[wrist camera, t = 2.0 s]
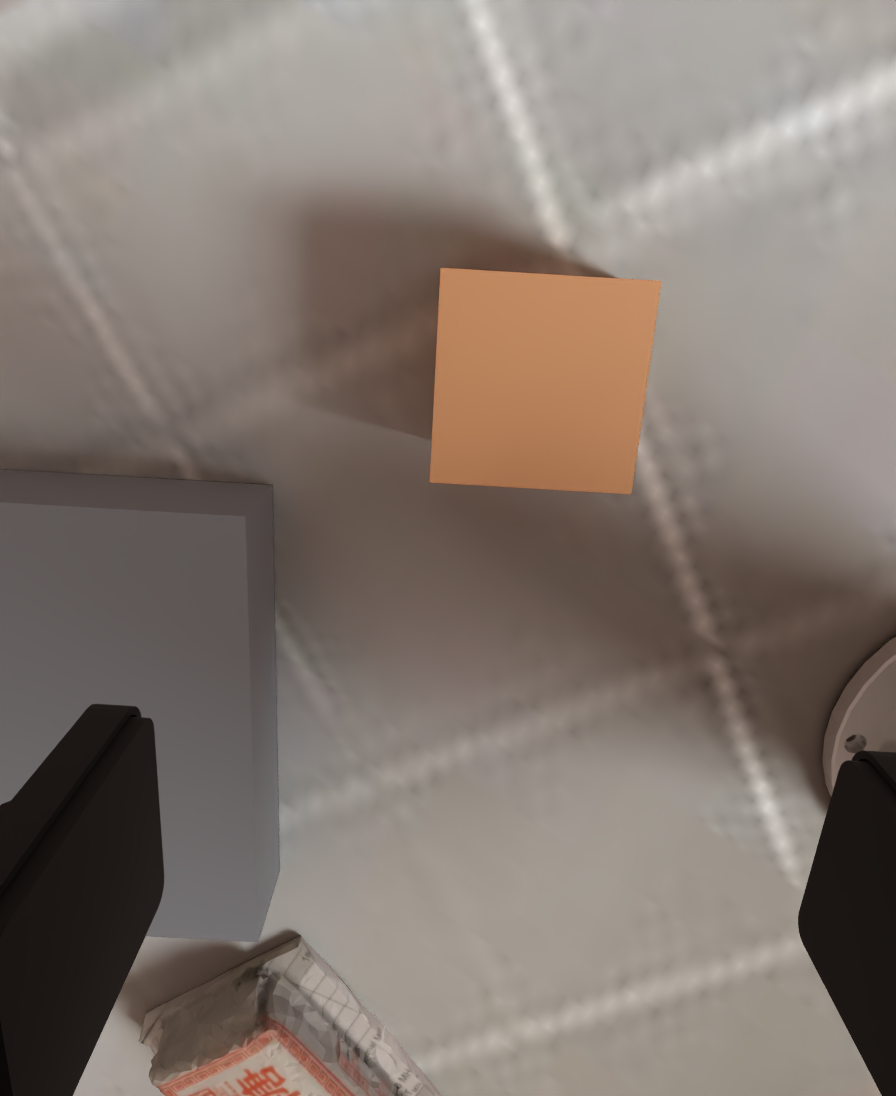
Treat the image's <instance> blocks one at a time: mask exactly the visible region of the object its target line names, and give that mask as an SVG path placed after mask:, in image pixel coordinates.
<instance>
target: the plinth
mask: <svg viewBox="0 0 896 1096" xmlns="http://www.w3.org/2000/svg"><path fill="white" fill-rule="evenodd" d="M92 704H109V705H125V706H136V707H137V708H139V710H140V713H141V717H142V718H150V719H152V721H153V724H154V732H155V746H156V761H157V775H158V790H159V805H160V819H161V834H162V849H163V863H164V889H163V894H162V898H161V902H160V905H159V907H158V910H157V912H156V914H155V916H154V918H153V921H152V923H151V925H150V927H149V929H148V932H147V934H146V936H151V937H170V938H189V939H208V940H226V941H245V942H259V939H260V935H261V932H262V929H263V925H264V922H265V919H266V915H267V912H268V909H269V905H270V902H271V898H272V895H273V892H274V888H275V885H276V882H277V878H278V875H279V871H280V857H279V803H278V750H277V696H276V642H275V588H274V534H273V485H265V484H248V483H231V482H214V481H196V480H179V479H162V478H145V477H128V476H110V475H93V474H76V473H59V472H42V471H25V470H7V469H0V805H1V804H3V803H5V802H8V801H11V800H12V799H13V798H14V796H15V795H16V794H17V793H18V791H19V790H20V789H21V788H22V787H23V785H24V784H25V783H26V782H27V781H28V779H29V778H30V777H31V776H32V775H33V773H34V772H35V771H36V770H37V768H38V767H39V766H40V765H41V764H42V762H43V761H44V760H45V759H46V758H47V756H48V755H49V754H50V753H51V752H52V750H53V749H54V748H55V747H56V745H57V744H58V743H59V742H60V741H61V739H62V738H63V737H64V736H65V735H66V733H67V732H68V731H69V730H70V728H71V727H72V726H73V725H74V724H75V722H76V721H77V720H78V719H79V718H80V716H81V715H82V714H83V713H84V712H85V710H86V709H87V708H88V707H89V706H90V705H92Z"/></svg>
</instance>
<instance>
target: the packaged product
mask: <svg viewBox="0 0 896 1096" xmlns="http://www.w3.org/2000/svg"><path fill="white" fill-rule="evenodd" d="M139 1042H140V1043H143V1044H146V1045H148V1046H150V1047H151V1049H152V1051H153V1052H154V1054H155V1056H154V1057H153V1059H152V1060H151V1063H152V1067H151V1069H150V1072H149V1078H150V1080H151V1083H152V1085H154V1086H156V1087H157V1088H159V1090H160V1091H161V1092H162V1093H163V1094H164V1095H165V1096H442V1094H441V1093H440V1092H439V1091H438V1090H437V1088H436V1087H435V1086H434V1085H433V1084H432V1082H431V1081H430V1080H429V1079H428V1078H427V1076H426V1075H425V1074H424V1073H423V1072H422V1070H421V1069H420V1068H419V1067H418V1066H417V1065H416V1063H415V1062H414V1061H413V1060H412V1059H411V1058H410V1057H409V1056H408V1054H407V1053H406V1052H405V1050H404V1049H403V1048H402V1046H401V1045H400V1044H399V1042H398V1041H397V1040H396V1038H395V1037H394V1036H393V1035H392V1034H391V1033H390V1032H389V1031H388V1030H387V1029H386V1028H385V1026H384V1025H383V1024H382V1023H381V1022H380V1021H379V1020H378V1019H377V1018H376V1017H375V1016H374V1015H373V1014H372V1013H370V1012H369V1011H368V1010H367V1009H366V1008H365V1007H364V1006H363V1005H362V1004H361V1002H360V1001H359V1000H358V999H357V997H356V996H355V995H354V994H353V993H352V992H351V991H350V990H349V989H348V987H347V986H346V985H345V984H344V983H343V982H342V981H341V980H340V979H339V977H338V976H337V975H336V974H335V973H334V972H333V970H332V969H331V968H330V967H329V966H328V965H327V964H326V962H325V961H324V960H323V959H322V958H321V957H320V955H319V954H318V953H317V952H316V951H315V950H314V949H313V948H312V947H311V946H310V945H309V944H308V943H307V942H306V941H305V940H304V939H303V937H302V936H299V937H297V938H295V939H293V940H291V941H289V942H286V943H284V944H282V945H280V946H278V947H276V948H274V949H272V950H270V951H268V952H266V953H264V954H262V955H260V956H258V957H256V958H254V959H251V960H249V961H247V962H245V963H243V964H241V965H239V966H237V967H235V968H233V969H231V970H229V971H227V972H225V973H223V974H221V975H220V976H218V977H216V978H214V979H213V980H211V981H209V982H207V983H205V984H203V985H200V986H198V987H196V988H194V989H192V990H190V991H188V992H186V993H184V994H182V995H180V996H178V997H176V998H174V999H172V1000H170V1001H168V1002H166V1003H164V1004H162V1005H160V1006H158V1007H156V1008H155V1009H153V1010H151V1011H149V1012H147V1013H146V1015H145V1019H144V1023H143V1027H142V1031H141V1035H140V1039H139Z"/></svg>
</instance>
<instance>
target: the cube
mask: <svg viewBox="0 0 896 1096" xmlns="http://www.w3.org/2000/svg"><path fill="white" fill-rule="evenodd" d="M660 288H661V281H652V280H635V279H619V278H602V277H586V276H569V275H553V274H537V273H520V272H504V271H487V270H471V269H454V268H440V288H439V308H438V328H437V347H436V367H435V387H434V406H433V426H432V446H431V465H430V483H447V484H464V485H481V486H498V487H515V488H532V489H549V490H566V491H583V492H600V493H617V494H632V487H633V480H634V473H635V466H636V459H637V452H638V445H639V437H640V430H641V423H642V416H643V409H644V402H645V395H646V388H647V380H648V373H649V366H650V359H651V352H652V345H653V338H654V331H655V324H656V316H657V309H658V302H659V295H660Z"/></svg>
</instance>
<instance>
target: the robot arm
mask: <svg viewBox="0 0 896 1096" xmlns="http://www.w3.org/2000/svg"><path fill="white" fill-rule="evenodd" d="M822 762H823V769H824V776H825V783H826V786H827V789H828V791H829V794H830V796H831V800H830V804H829V807H828V811H827V814H826V818H825V821H824V825H823V828H822V832H821V836H820V839H819V843H818V846H817V850H816V853H815V857H814V861H813V864H812V868H811V871H810V875H809V878H808V882H807V886H806V889H805V893H804V896H803V900H802V903H801V907H800V911H799V916H798V926H799V933H800V937H801V940H802V942H803V945H804V947H805V949H806V950H807V952H808V954H809V956H810V958H811V960H812V962H813V964H814V966H815V968H816V970H817V972H818V974H819V975H820V977H821V979H822V981H823V983H824V985H825V987H826V989H827V991H828V993H829V995H830V997H831V999H832V1000H833V1002H834V1004H835V1006H836V1008H837V1010H838V1012H839V1014H840V1016H841V1018H842V1020H843V1022H844V1024H845V1025H846V1027H847V1029H848V1031H849V1033H850V1035H851V1037H852V1039H853V1041H854V1043H855V1045H856V1047H857V1049H858V1050H859V1052H860V1054H861V1056H862V1058H863V1060H864V1062H865V1064H866V1066H867V1068H868V1070H869V1072H870V1074H871V1075H872V1077H873V1079H874V1081H875V1083H876V1085H877V1087H878V1089H879V1091H880V1093H881V1095H882V1096H896V637H895V638H893V639H892V640H890V641H889V642H887V643H886V644H885V645H884V646H883V647H882V648H881V649H879V650H878V651H877V652H876V653H875V654H874V655H873V656H872V657H871V658H869V659H868V660H867V661H866V662H865V663H864V664H863V665H862V667H861V668H860V669H859V670H858V672H857V673H856V674H855V675H854V677H853V678H852V679H851V680H850V682H849V683H848V684H847V686H846V687H845V689H844V691H843V692H842V694H841V696H840V698H839V700H838V702H837V704H836V705H835V707H834V709H833V711H832V714H831V717H830V720H829V724H828V727H827V730H826V733H825V736H824V748H823V760H822ZM163 889H164V863H163V849H162V834H161V819H160V805H159V790H158V775H157V761H156V746H155V732H154V724H153V721H152V719H150V718H142V717H141V713H140V710H139V708H137V707H136V706H125V705H109V704H92V705H90V706H89V707H88V708H87V709H86V710H85V712H84V713H83V714H82V715H81V716H80V718H79V719H78V720H77V721H76V722H75V724H74V725H73V726H72V727H71V728H70V730H69V731H68V732H67V733H66V735H65V736H64V737H63V738H62V739H61V741H60V742H59V743H58V744H57V745H56V747H55V748H54V749H53V750H52V752H51V753H50V754H49V755H48V756H47V758H46V759H45V760H44V761H43V762H42V764H41V765H40V766H39V767H38V768H37V770H36V771H35V772H34V773H33V775H32V776H31V777H30V778H29V779H28V781H27V782H26V783H25V784H24V785H23V787H22V788H21V789H20V790H19V791H18V793H17V794H16V795H15V796H14V798H13V799H12V800H11V801H8V802H5V803H3V804H1V805H0V1096H73V1094H74V1091H75V1089H76V1087H77V1085H78V1083H79V1080H80V1078H81V1076H82V1074H83V1072H84V1069H85V1067H86V1065H87V1063H88V1061H89V1059H90V1056H91V1054H92V1052H93V1050H94V1048H95V1045H96V1043H97V1041H98V1039H99V1037H100V1034H101V1032H102V1030H103V1028H104V1026H105V1024H106V1021H107V1019H108V1017H109V1015H110V1013H111V1010H112V1008H113V1006H114V1004H115V1002H116V999H117V997H118V995H119V993H120V991H121V988H122V986H123V984H124V982H125V980H126V978H127V975H128V973H129V971H130V969H131V967H132V964H133V962H134V960H135V958H136V956H137V953H138V951H139V949H140V947H141V945H142V943H143V940H144V938H145V936H146V934H147V932H148V929H149V927H150V925H151V923H152V921H153V918H154V916H155V914H156V912H157V910H158V907H159V905H160V902H161V898H162V894H163Z"/></svg>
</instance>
